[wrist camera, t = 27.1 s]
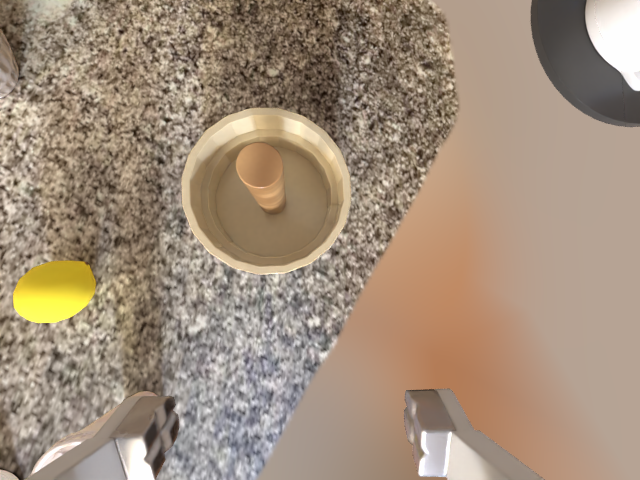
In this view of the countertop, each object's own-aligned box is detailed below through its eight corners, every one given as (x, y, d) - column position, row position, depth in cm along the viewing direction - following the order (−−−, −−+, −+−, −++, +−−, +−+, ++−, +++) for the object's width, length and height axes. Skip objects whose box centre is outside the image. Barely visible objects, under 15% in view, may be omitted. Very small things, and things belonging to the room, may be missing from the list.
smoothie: (116, 375, 30) (-34, 485, 16) (181, 380, 31) (90, 490, 17) (106, 438, 30) (-54, 606, 16) (172, 442, 30) (73, 607, 17)
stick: (285, 188, 32) (282, 141, 18) (286, 214, 32) (284, 187, 18) (259, 188, 31) (234, 141, 17) (260, 215, 31) (236, 188, 17)
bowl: (335, 137, 33) (347, 107, 26) (341, 264, 33) (354, 269, 26) (203, 138, 32) (178, 106, 25) (207, 271, 31) (184, 278, 24)
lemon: (69, 329, 30) (21, 347, 24) (30, 290, 29) (-27, 300, 24) (124, 281, 30) (88, 288, 25) (86, 243, 30) (42, 242, 25)
